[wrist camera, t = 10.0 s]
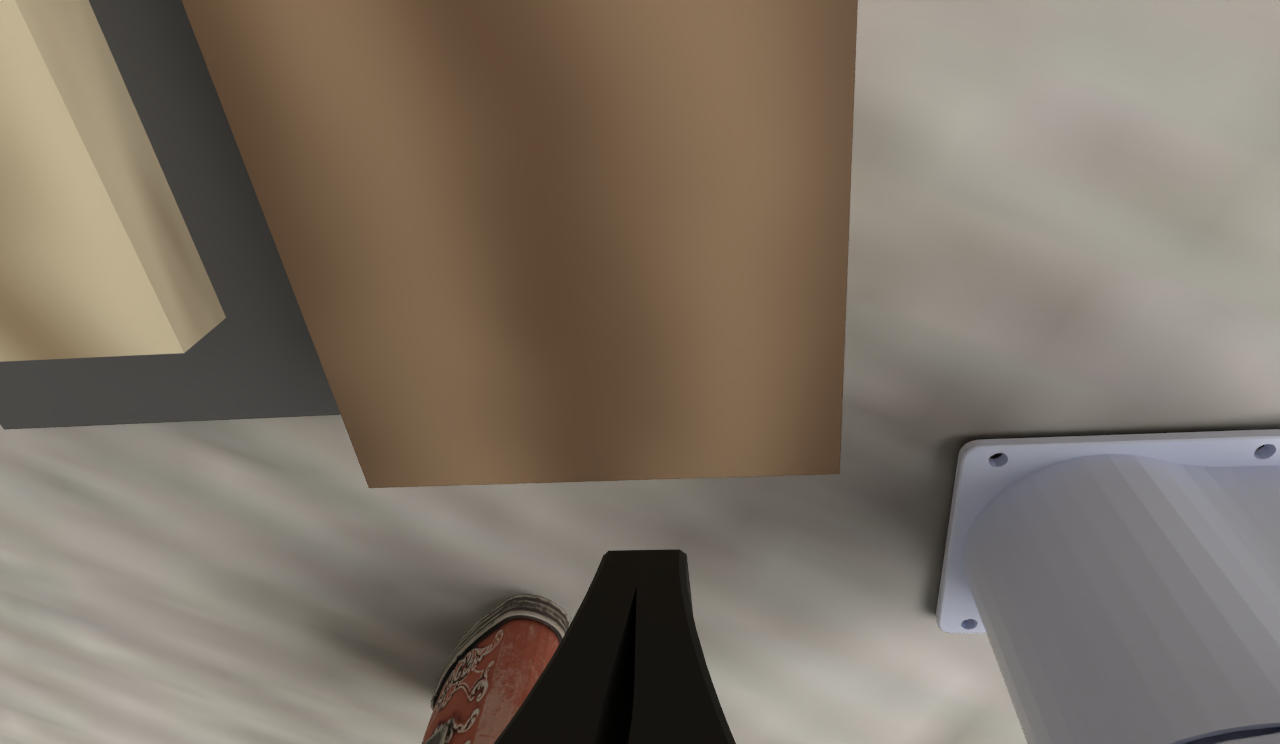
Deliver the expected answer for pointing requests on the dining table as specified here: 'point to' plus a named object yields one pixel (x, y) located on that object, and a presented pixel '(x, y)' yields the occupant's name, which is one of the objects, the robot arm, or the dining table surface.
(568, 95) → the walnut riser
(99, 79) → the birch tile
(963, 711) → the dining table surface
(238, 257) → the rubber mat
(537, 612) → the lighter
